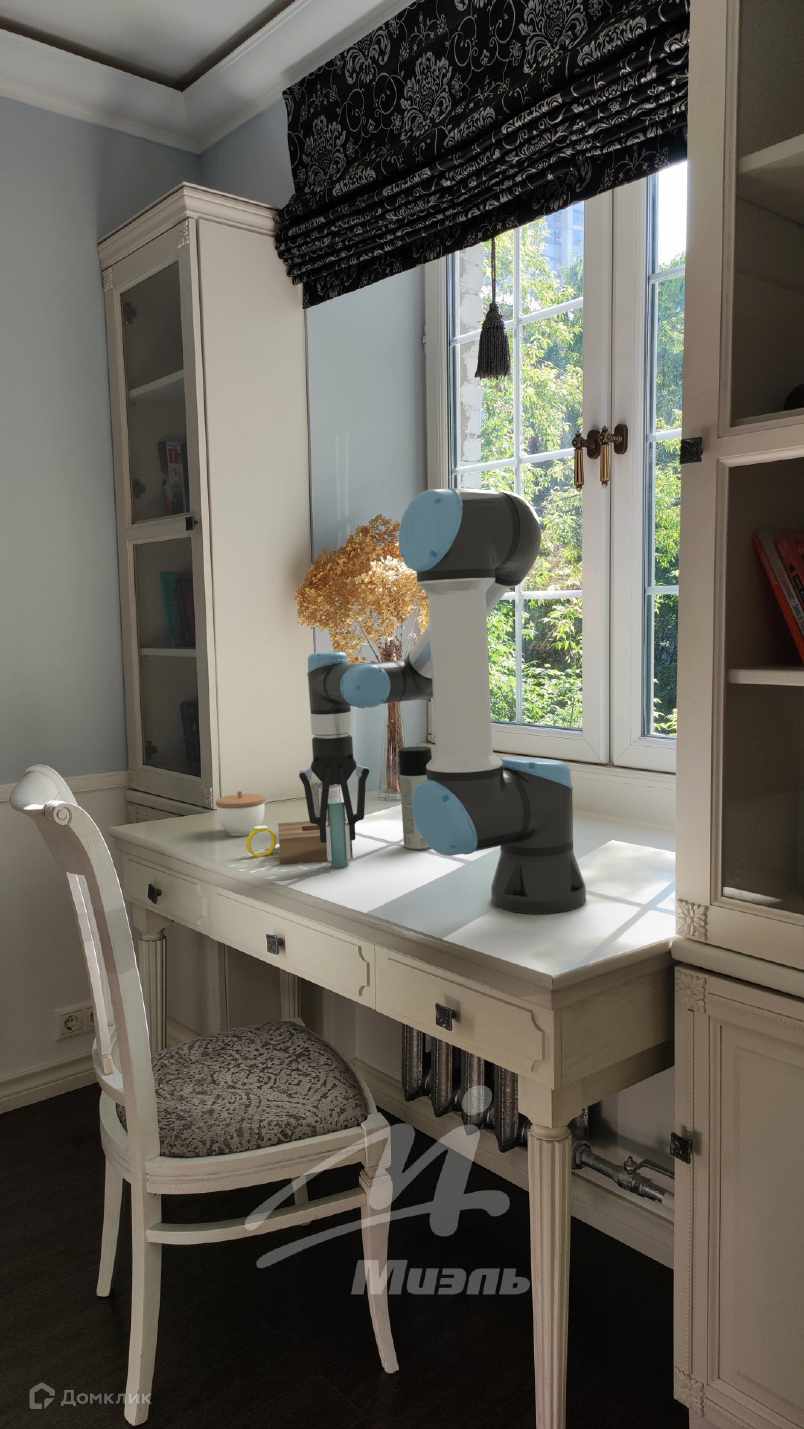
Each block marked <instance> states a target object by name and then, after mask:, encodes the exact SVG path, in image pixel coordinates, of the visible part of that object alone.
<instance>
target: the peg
mask: <svg viewBox="0 0 804 1429" xmlns="http://www.w3.org/2000/svg"><path fill="white" fill-rule="evenodd" d="M327 808H328V825H329V826H330V835H331V852H332V861H330V867H331V868H333V869H344V868H347V867H348V866H349V865H348V864H349V863H348V860H349V859H347V856H346V839H345V818H346V810H345V805H344V802H331V803H328V807H327Z"/></svg>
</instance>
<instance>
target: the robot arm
mask: <svg viewBox="0 0 804 1429" xmlns="http://www.w3.org/2000/svg"><path fill="white" fill-rule="evenodd" d="M541 544H542V527H541V524H540V520H539V517H538V515H537V513H536V511H535V509H534V508H533V506H532V505H531V504H530V503H529V502H528V501H527V500H526V499H524V498H523V497H522V496H520V495H519V494H516V493H514V492H511V491H506V490H483V489H471V488H470V489H469V488H468V489H467V488H453V487H450V488H449V487H448V488H447V487H446V488H438V489H428V490H424V491H421V492H420V493H418V494H417V495H416V496H415V497H414V498H412V500H411V501H410V502H409V504H408V505H407V508H406V509H405V511H404V513H403V515H402V518H401V521H400V525H399V529H398V548H399V555H400V556H401V558H402V560H403V563H404V565H405V566H406V567H407V568H409V569H410V570H412V571H414V572H415V573H416V583H417V584H416V585H417V586H419V588H420V589H422V590H423V592H424V593H426V595H427V601H428V605H427V606H428V622H429V623H428V625H427V626H426V627H425V629H424V630H423V632H422V633H421V635H420V637H419V638H418V640H417V641H416V643H415V644H414V645H413V647H412V649H411V650H410V652H408V654H407V655H406V657H405V658H404V659H399V660H388V661H380V662H379V661H378V662H377V661H375V662H367V663H365V662H364V663H350V662H349V657H348V655H347V653H346V652H345V651H323V652H314V653H311V654H310V655H309V656H308V658H307V674H306V676H307V681H308V683H307V684H308V696H309V697H308V698H309V709H310V713H309V714H310V728H311V729H310V730H311V734H312V735H314V736H313V737H312V738H311V744H312V745H311V748H312V761H311V764H310V767H308V768H307V769H305V770H300V771H299V772H298V777H299V779H300V781H301V782H302V784H303V788H304V795H305V802H306V807H307V812H308V813H307V814H308V819H309V820H308V821H310V823H311V824H316V825H318V826H319V830H320V841H321V843H326V847H327V859H328V860H327V861H328V862H331V861H332V852H331V835H330V826H329V825H328V824H326V818H327V807H328V795H329V786H330V785H333V784H338V785H340V786H341V790H342V795H343V800H344V806H345V815H346V820H347V822H345V839H346V856H347V860H351V859H352V858H351V853H350V841H352V842H353V841H355V840H356V837H357V836H356V823H357V822H359V821H363V820H364V819H365V807H366V806H365V805H366V804H365V803H366V786H367V785H366V783H367V782H366V781H367V779H368V776H369V774H370V770H369V768H368V767H367V766H363V765H359V764H357V761H356V760H355V758H354V748H353V746H354V744H353V736H352V735H351V734H350V733H351V732H352V730H353V729H352V728H353V726H352V725H353V724H352V712H351V711H352V710H351V707H354V708H359V709H365V708H366V709H367V708H371V709H372V708H376V707H379V706H380V705H383V704H393V703H401V702H409V701H419V700H420V701H422V700H423V701H426V700H431V699H432V704H433V705H432V707H433V726H434V743H435V744H434V748H435V749H434V751H435V753H434V756H433V757H432V759H431V760H430V762H429V763H428V764H427V765H426V773H427V780H426V781H423V782H422V783H421V784H419V785H418V786H417V787H416V789H415V793H414V794H413V798H412V810H413V816H414V820H415V823H416V826H417V828H418V831H419V833H420V834H421V836H422V837H423V838H424V840H425V842H426V843H427V844H428V845H429V846H430V847H431V848H430V849H432V850H433V851H434V852H436V853H437V854H439V855H442V856H446V857H447V856H449V857H452V856H458V855H465V856H466V855H471V854H473V853H474V852H478V851H482V850H483V851H484V850H488V849H491V848H496V847H500V855H499V858H498V862H497V864H496V868H495V871H494V872H495V873H494V875H493V876H494V877H493V879H492V883H491V888H490V890H491V891H490V893H491V894H490V895H491V896H490V897H491V902H492V904H493V905H495V906H496V907H498V908H500V909H502V910H506V911H508V912H509V911H510V912H515V913H522V914H534V915H535V914H537V915H539V914H555V913H561V912H566V911H571V910H574V909H577V908H579V907H581V906H583V905H584V904H585V903H586V900H587V891H586V890H587V888H586V883H585V880H584V878H583V876H582V872H581V869H580V867H579V864H578V861H577V858H576V856H575V852H574V851H575V850H574V821H573V820H574V818H573V816H574V815H573V814H574V813H573V810H574V809H573V790H574V787H573V785H572V777H571V774H572V772H571V769H570V767H569V765H568V764H567V763H566V762H563V761H561V760H556V759H549V758H540V757H529V756H527V757H526V756H525V757H524V756H503V757H498V756H497V755H496V754H495V753H494V751H493V735H492V734H493V731H492V714H491V713H492V708H491V687H490V683H491V682H490V663H489V662H490V661H489V660H490V659H489V642H488V641H489V640H488V639H489V638H488V637H489V636H488V620H487V619H488V617H489V615H491V613H492V612H493V610H494V609H495V608H496V606H497V604H499V602H500V600H501V599H502V598H503V597H504V595H505V594H506V593H507V591H508V590H509V589H510V588H515V587H517V586H519V585H520V584H521V583H522V582H523V580H524V579H525V578H526V577H527V576H528V574H529V572H530V571H531V569H532V568H533V566H534V564H535V562H536V560H537V558H538V555H539V553H540V549H541ZM354 772H355V774H356V777H357V778H358V779H357V798H356V813H354V809H353V805H352V801H351V795H350V791H349V785H348V781H349V779H350V777H351V776H352V775H353V773H354ZM312 773H314V774H315V775H316V776H317V777H318V779H319V780H320V781H321V782H322V791H321V803H320V814H319V817H317V816H315V810H314V804H313V797H312V791H311V780H312Z"/></svg>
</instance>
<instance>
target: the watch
mask: <svg viewBox="0 0 804 1429" xmlns="http://www.w3.org/2000/svg"><path fill="white" fill-rule="evenodd" d="M268 827H269V826H268V825H261V826H255V827H254V830H253V831H252V832H251V833H250V834H249V835H247V839H246V849H247V851H248V853H249V854H250V855H251V856H253V857H256V858H261V857H266V856H270V855H272V853H273V852H274V851H275V849H276V846H277V838H276V836H277V835H275V833H274V831H272V830H271V829H270V828H268ZM261 832H268V833H269V835H270V838H271V844H270V847H269V849H268V850H267V851H265V852H261V853H255V852H254V851H253V849H252V840H253V838H254V836H255V835H256V834H257V833H261Z"/></svg>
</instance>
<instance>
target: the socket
mask: <svg viewBox="0 0 804 1429" xmlns="http://www.w3.org/2000/svg"><path fill="white" fill-rule="evenodd" d="M345 822H348V819H347V817H345ZM326 824H328V819H326ZM277 826H278V828H277V831H278V843H279V844H278V846H279V847H278V848H279V862H280V865H285V864H287V865H288V864H296V863H309V862H321V861H328V859H327V847H326V843H321V841H320V830H319V826H318V825H316V824H311V823H310V820H299V821H289V822H288V821H287V822H278V823H277ZM350 853H351V859H354V854H353V840H352V841H350Z"/></svg>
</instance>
